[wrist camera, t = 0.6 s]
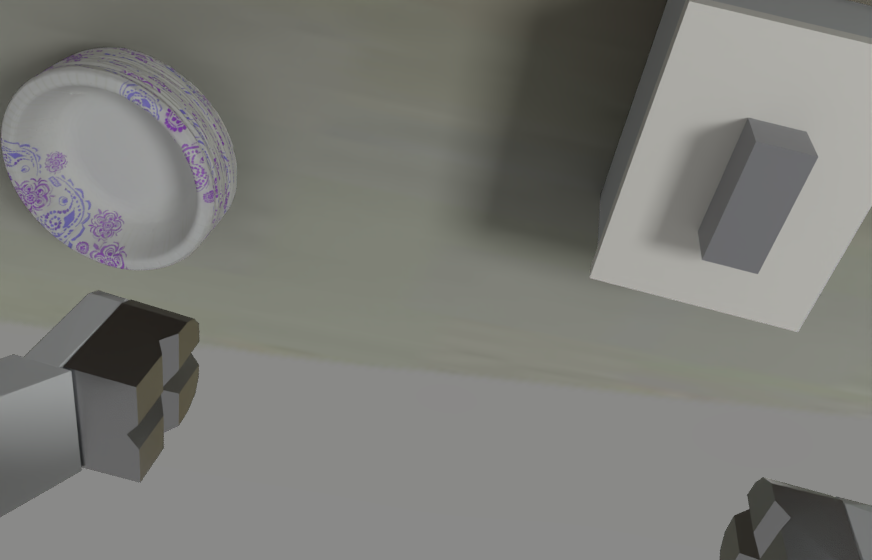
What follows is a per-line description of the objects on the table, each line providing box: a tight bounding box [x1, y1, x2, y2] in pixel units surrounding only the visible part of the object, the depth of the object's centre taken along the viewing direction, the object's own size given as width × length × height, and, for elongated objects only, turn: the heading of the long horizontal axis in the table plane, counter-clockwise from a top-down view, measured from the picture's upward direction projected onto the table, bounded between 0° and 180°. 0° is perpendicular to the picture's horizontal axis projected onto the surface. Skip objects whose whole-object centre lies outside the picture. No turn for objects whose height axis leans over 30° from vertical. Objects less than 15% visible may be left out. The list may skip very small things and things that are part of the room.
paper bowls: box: [1, 47, 237, 270], centre depth 56 cm, size 15×15×8 cm
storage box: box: [597, 0, 872, 247], centre depth 47 cm, size 16×12×9 cm
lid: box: [590, 0, 872, 332], centre depth 42 cm, size 17×13×5 cm
